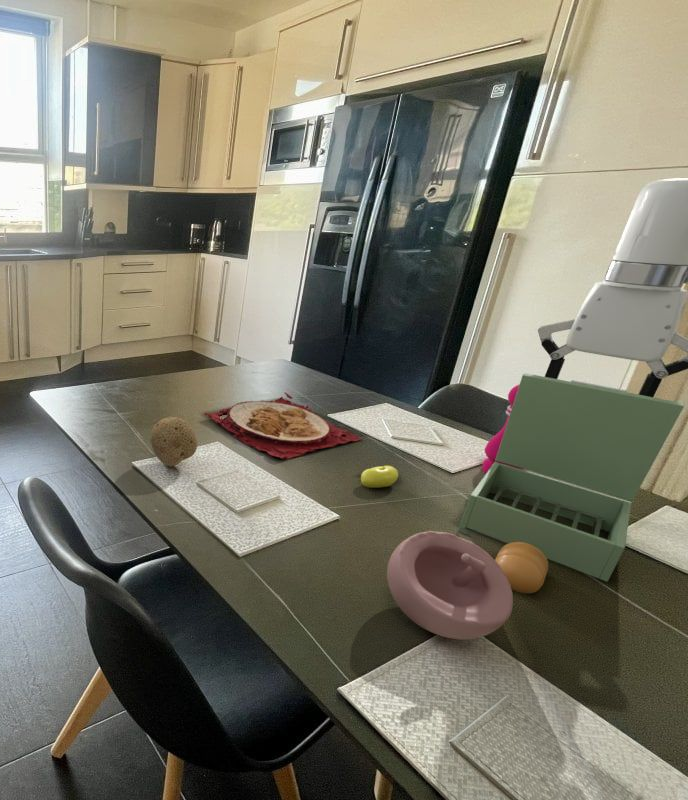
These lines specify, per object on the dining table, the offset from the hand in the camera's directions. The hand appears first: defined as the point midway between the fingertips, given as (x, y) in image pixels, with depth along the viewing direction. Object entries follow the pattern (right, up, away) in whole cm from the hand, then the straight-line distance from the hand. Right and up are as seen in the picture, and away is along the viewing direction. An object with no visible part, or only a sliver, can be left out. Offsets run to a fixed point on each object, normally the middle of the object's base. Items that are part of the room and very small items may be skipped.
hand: (593, 391), depth 73 cm
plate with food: (-32, -8, +39) cm, 51 cm away
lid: (-2, -7, +1) cm, 7 cm away
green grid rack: (-6, -23, +3) cm, 24 cm away
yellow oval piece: (-23, -17, +16) cm, 33 cm away
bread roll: (-18, -26, -7) cm, 33 cm away
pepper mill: (+4, -16, +21) cm, 27 cm away
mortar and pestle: (-34, -29, -14) cm, 47 cm away
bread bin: (-6, -23, +3) cm, 24 cm away
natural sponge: (-60, -14, +23) cm, 66 cm away
